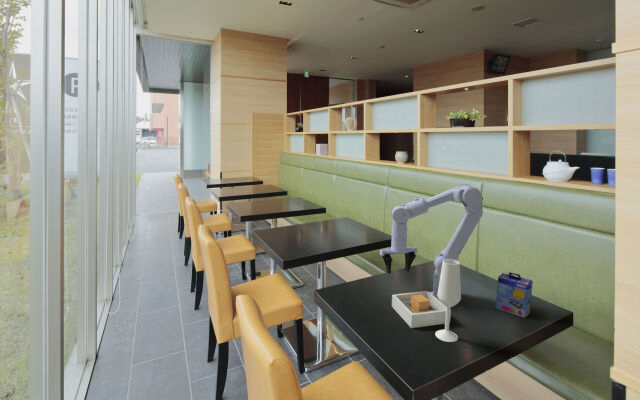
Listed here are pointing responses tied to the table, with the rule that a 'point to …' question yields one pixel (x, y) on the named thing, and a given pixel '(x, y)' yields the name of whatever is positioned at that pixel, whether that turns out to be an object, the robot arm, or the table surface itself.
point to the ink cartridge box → (514, 294)
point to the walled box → (419, 318)
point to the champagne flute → (449, 295)
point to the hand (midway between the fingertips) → (397, 271)
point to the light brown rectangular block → (419, 303)
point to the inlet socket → (431, 308)
